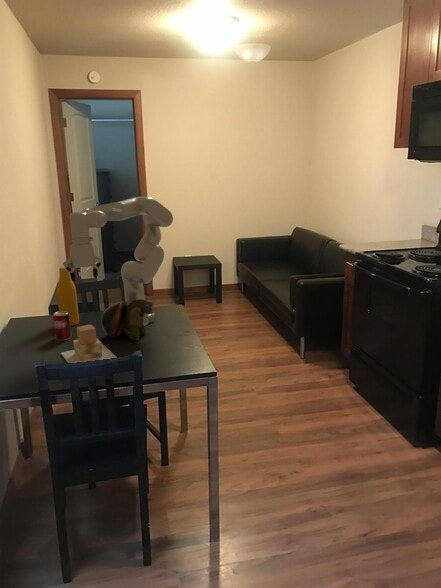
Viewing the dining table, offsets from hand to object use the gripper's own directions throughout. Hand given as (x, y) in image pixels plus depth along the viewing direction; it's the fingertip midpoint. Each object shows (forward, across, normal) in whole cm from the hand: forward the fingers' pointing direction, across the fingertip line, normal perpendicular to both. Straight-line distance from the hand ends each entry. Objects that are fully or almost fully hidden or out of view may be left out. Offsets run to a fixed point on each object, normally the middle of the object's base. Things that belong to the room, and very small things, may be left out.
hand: (84, 279), depth 211 cm
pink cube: (+22, +7, +20) cm, 30 cm away
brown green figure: (+29, -16, +7) cm, 34 cm away
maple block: (+28, +7, +20) cm, 35 cm away
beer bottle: (+28, +2, -27) cm, 39 cm away
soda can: (+28, +10, -8) cm, 31 cm away
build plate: (+28, +7, +20) cm, 35 cm away
